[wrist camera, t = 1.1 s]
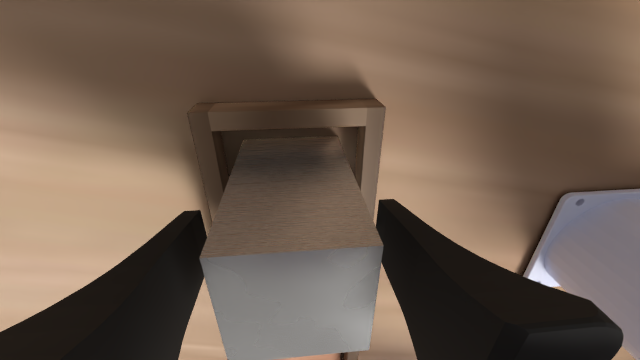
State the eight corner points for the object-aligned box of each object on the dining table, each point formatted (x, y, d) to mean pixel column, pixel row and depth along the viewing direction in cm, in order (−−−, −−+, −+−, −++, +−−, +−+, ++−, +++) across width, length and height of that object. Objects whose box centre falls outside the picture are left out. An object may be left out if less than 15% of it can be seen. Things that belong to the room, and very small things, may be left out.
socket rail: (376, 98, 14) (385, 107, 12) (351, 368, 25) (354, 387, 23) (197, 103, 13) (187, 113, 12) (254, 378, 24) (252, 398, 23)
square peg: (337, 136, 14) (383, 245, 7) (335, 211, 17) (369, 350, 10) (243, 139, 14) (198, 258, 7) (254, 216, 16) (229, 363, 9)
